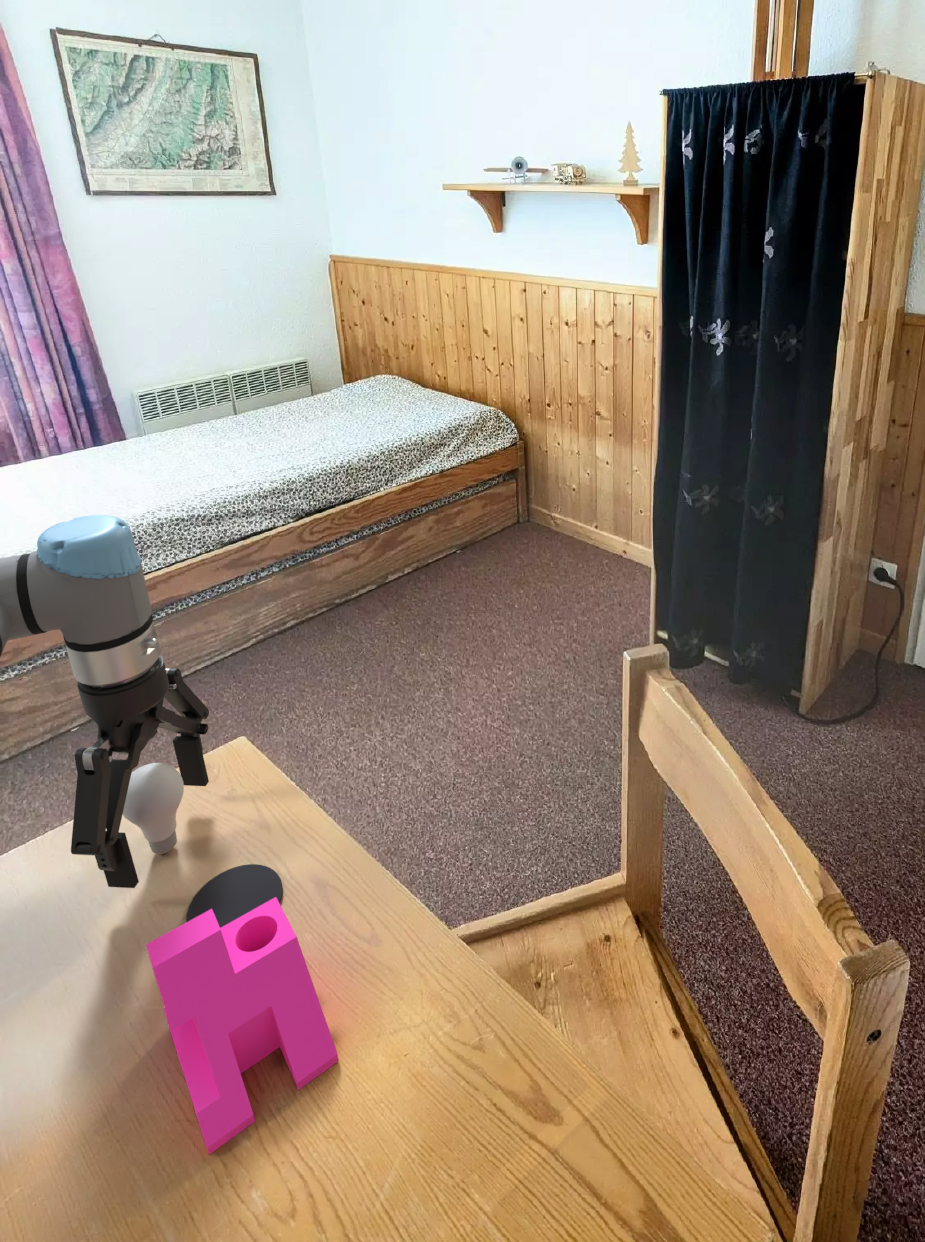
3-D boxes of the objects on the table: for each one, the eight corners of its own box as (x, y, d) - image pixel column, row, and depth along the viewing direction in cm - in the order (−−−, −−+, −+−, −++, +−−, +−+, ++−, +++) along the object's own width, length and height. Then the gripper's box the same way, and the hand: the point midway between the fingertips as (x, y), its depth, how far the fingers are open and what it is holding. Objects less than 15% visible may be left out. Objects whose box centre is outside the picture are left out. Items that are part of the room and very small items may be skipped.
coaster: (168, 942, 75) (167, 939, 74) (215, 864, 83) (215, 861, 83) (258, 948, 74) (257, 945, 74) (297, 869, 82) (296, 866, 82)
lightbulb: (208, 839, 86) (191, 760, 82) (159, 881, 81) (138, 800, 77) (170, 820, 89) (152, 743, 85) (121, 861, 83) (98, 781, 80)
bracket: (169, 1028, 67) (145, 944, 64) (287, 956, 73) (271, 875, 70) (208, 1154, 59) (184, 1065, 55) (338, 1060, 65) (324, 975, 61)
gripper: (69, 758, 65) (124, 938, 72) (220, 601, 88) (250, 750, 95) (-16, 754, 65) (47, 934, 72) (156, 599, 88) (191, 748, 96)
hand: (162, 830), depth 84 cm, fingers open, 13 cm apart
